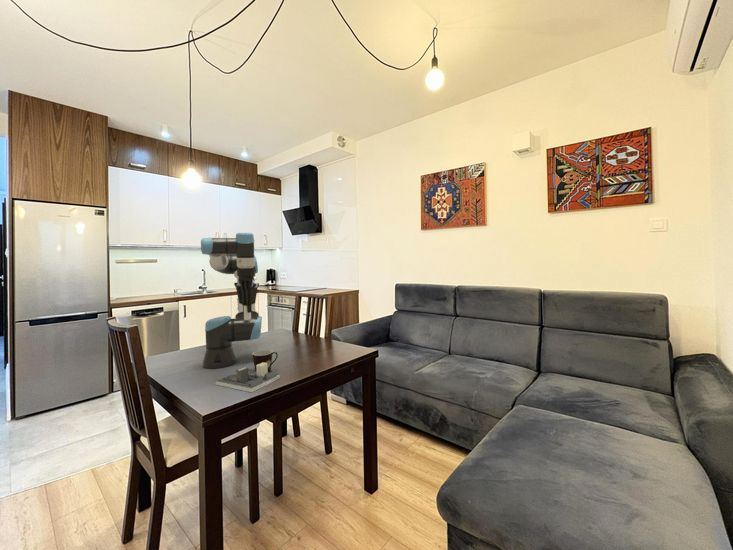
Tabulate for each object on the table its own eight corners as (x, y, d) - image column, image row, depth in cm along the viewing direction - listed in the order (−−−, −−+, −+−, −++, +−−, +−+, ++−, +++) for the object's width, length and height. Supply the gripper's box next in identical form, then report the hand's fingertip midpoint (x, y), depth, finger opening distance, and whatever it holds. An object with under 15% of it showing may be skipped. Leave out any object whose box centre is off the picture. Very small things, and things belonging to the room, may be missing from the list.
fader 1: (236, 382, 128) (236, 369, 128) (244, 379, 132) (243, 366, 131) (240, 383, 127) (240, 370, 127) (248, 379, 131) (248, 367, 130)
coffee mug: (254, 379, 137) (253, 356, 136) (251, 373, 145) (251, 351, 144) (281, 374, 142) (281, 352, 142) (277, 368, 150) (276, 348, 149)
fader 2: (256, 376, 134) (256, 364, 134) (263, 373, 138) (263, 362, 137) (260, 377, 133) (260, 365, 133) (267, 374, 137) (267, 362, 136)
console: (215, 384, 131) (215, 375, 130) (245, 372, 145) (245, 363, 145) (251, 392, 122) (251, 382, 122) (279, 378, 136) (279, 369, 136)
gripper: (228, 267, 140) (230, 319, 142) (250, 268, 135) (252, 322, 137) (241, 266, 147) (243, 316, 149) (263, 267, 142) (264, 319, 143)
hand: (247, 319), depth 143 cm, fingers closed
